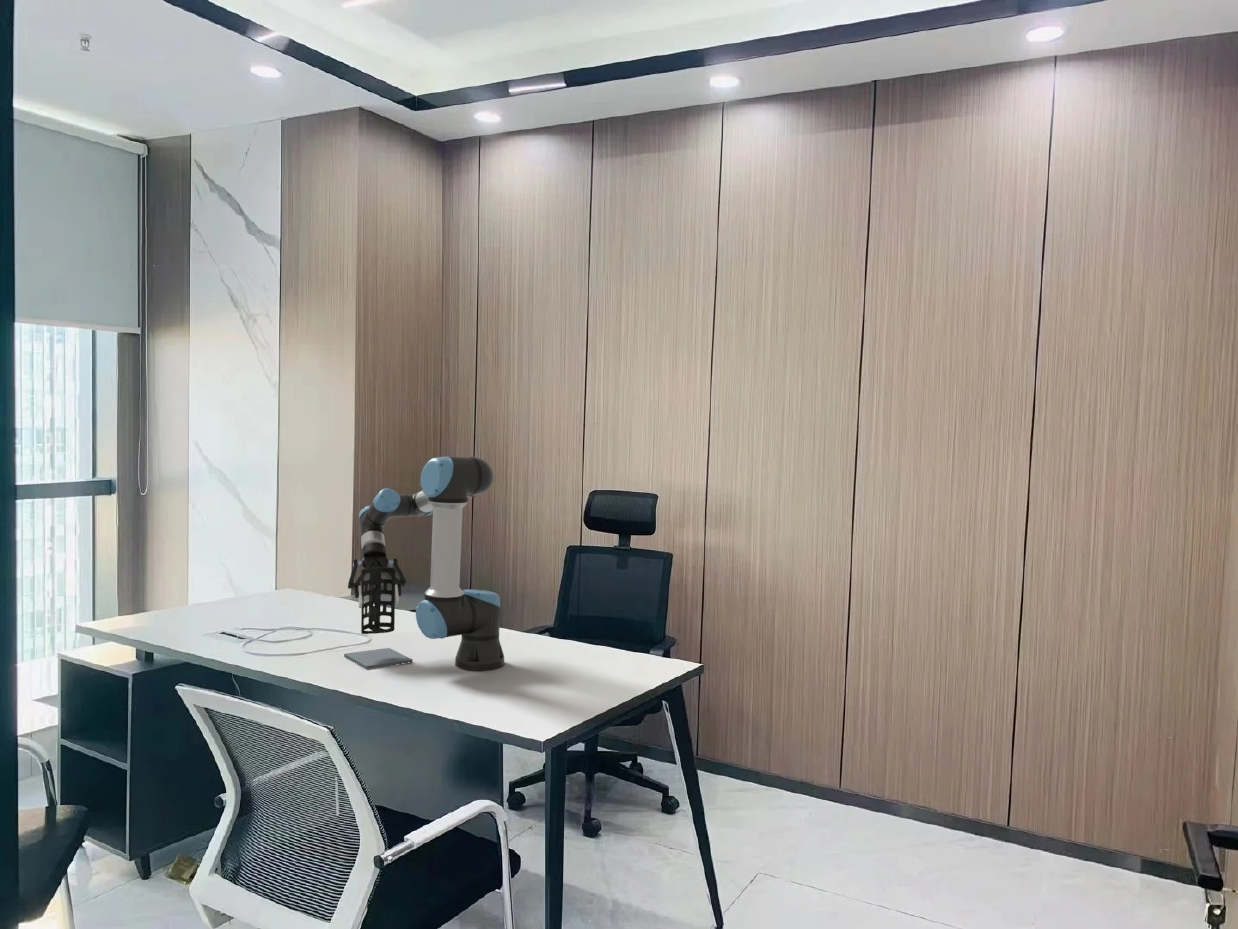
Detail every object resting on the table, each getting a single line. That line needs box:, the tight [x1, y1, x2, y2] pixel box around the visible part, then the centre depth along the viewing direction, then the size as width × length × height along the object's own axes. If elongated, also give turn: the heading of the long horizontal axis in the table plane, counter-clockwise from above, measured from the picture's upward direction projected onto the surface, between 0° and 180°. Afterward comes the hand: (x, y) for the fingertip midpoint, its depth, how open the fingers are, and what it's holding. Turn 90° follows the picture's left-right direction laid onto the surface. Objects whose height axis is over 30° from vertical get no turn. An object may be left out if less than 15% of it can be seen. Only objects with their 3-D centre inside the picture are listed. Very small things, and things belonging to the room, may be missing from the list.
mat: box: [343, 647, 414, 670], centre depth 279 cm, size 18×15×1 cm
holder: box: [360, 566, 396, 635], centre depth 279 cm, size 11×8×20 cm
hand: (379, 604), depth 277 cm, fingers closed on holder, 10 cm apart
